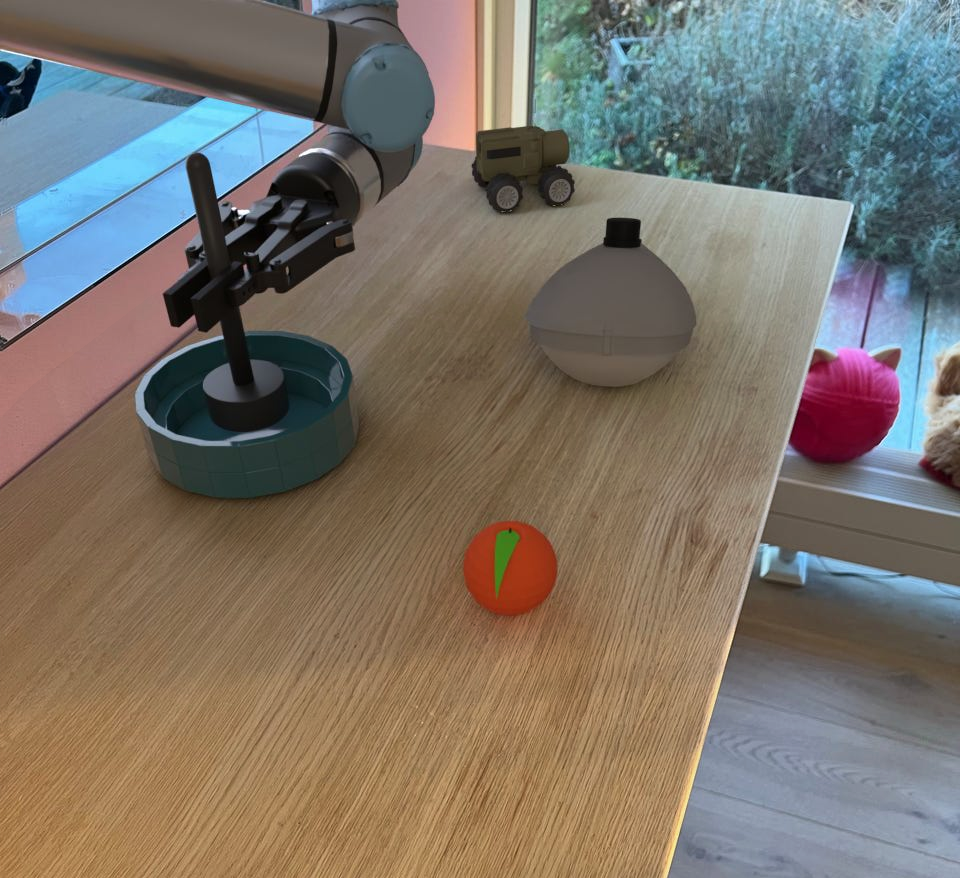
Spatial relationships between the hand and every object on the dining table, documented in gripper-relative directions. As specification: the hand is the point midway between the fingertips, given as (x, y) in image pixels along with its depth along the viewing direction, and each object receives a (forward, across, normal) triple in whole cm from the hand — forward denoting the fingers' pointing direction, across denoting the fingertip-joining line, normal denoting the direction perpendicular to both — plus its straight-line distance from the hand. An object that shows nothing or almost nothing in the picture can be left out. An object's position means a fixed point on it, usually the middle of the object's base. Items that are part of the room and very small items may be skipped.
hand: (185, 313), depth 80 cm
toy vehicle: (-65, -5, -16) cm, 67 cm away
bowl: (-6, 0, -15) cm, 16 cm away
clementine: (+7, -29, -16) cm, 34 cm away
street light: (-32, -26, -16) cm, 44 cm away
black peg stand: (-6, 0, -12) cm, 13 cm away
